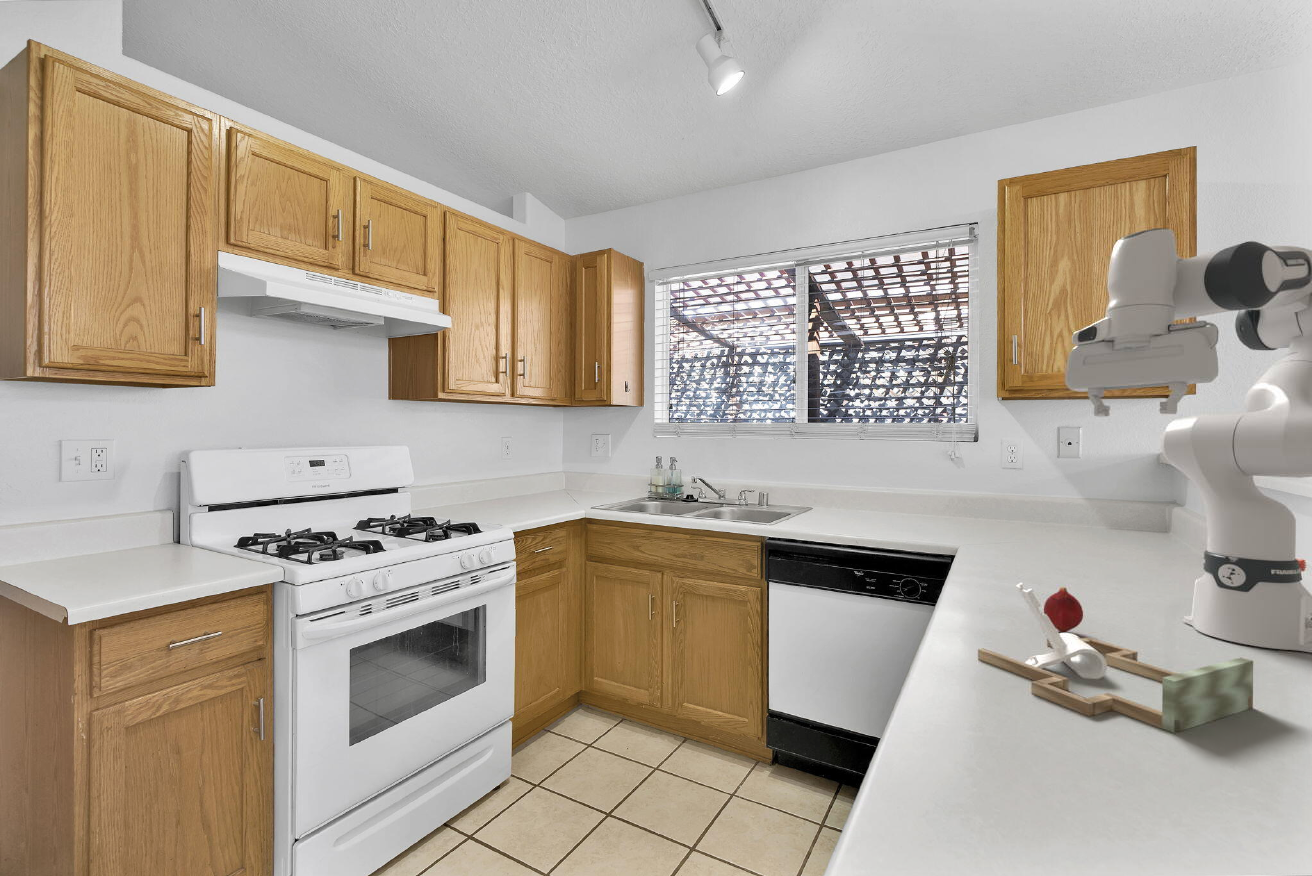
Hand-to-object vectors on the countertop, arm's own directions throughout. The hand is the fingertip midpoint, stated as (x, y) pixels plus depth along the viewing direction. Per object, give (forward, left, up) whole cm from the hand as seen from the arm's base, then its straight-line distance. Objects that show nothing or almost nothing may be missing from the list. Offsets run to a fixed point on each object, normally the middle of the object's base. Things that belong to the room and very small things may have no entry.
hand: (1133, 415), depth 98 cm
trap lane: (+17, +5, -38) cm, 42 cm away
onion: (0, -11, -38) cm, 40 cm away
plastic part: (+17, -1, -38) cm, 42 cm away
